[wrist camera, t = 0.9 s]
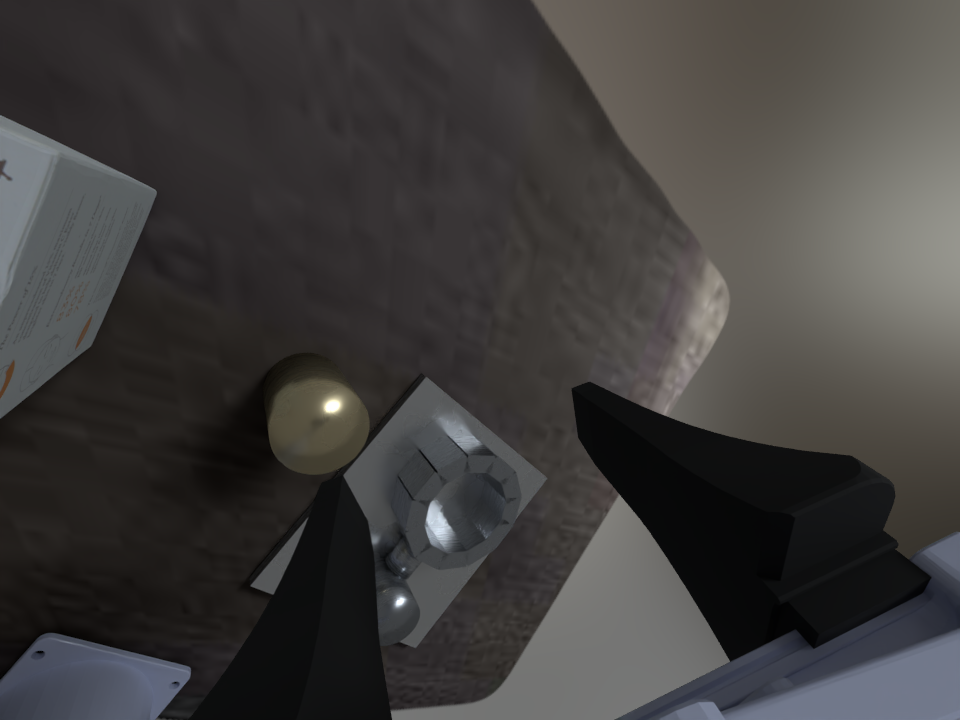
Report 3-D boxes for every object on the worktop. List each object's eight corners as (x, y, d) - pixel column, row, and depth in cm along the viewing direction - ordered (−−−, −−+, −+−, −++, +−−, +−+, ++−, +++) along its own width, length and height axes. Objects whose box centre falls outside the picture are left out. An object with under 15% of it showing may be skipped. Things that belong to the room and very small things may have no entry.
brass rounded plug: (310, 439, 27) (327, 490, 22) (244, 398, 24) (246, 444, 19) (359, 382, 27) (388, 418, 22) (299, 337, 25) (315, 366, 20)
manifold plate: (411, 639, 34) (435, 695, 30) (249, 576, 27) (251, 639, 23) (541, 473, 36) (580, 505, 32) (421, 373, 29) (452, 397, 25)
